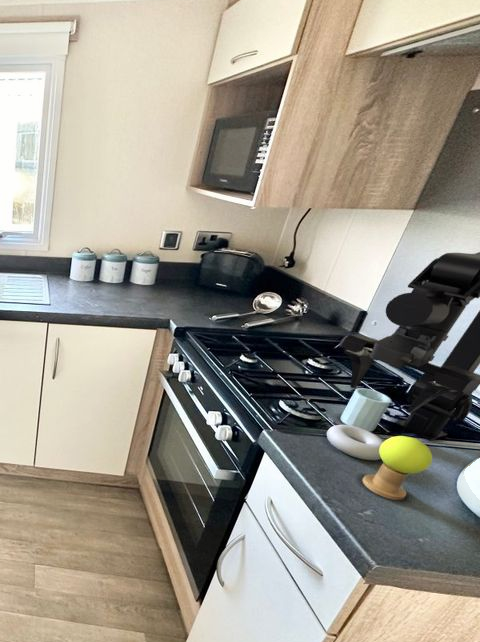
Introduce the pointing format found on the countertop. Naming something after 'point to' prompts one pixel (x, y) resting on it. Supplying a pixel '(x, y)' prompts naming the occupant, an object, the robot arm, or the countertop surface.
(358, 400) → the cup
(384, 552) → the countertop surface
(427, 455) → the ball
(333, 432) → the donut
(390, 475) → the wooden egg stand
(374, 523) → the countertop surface
